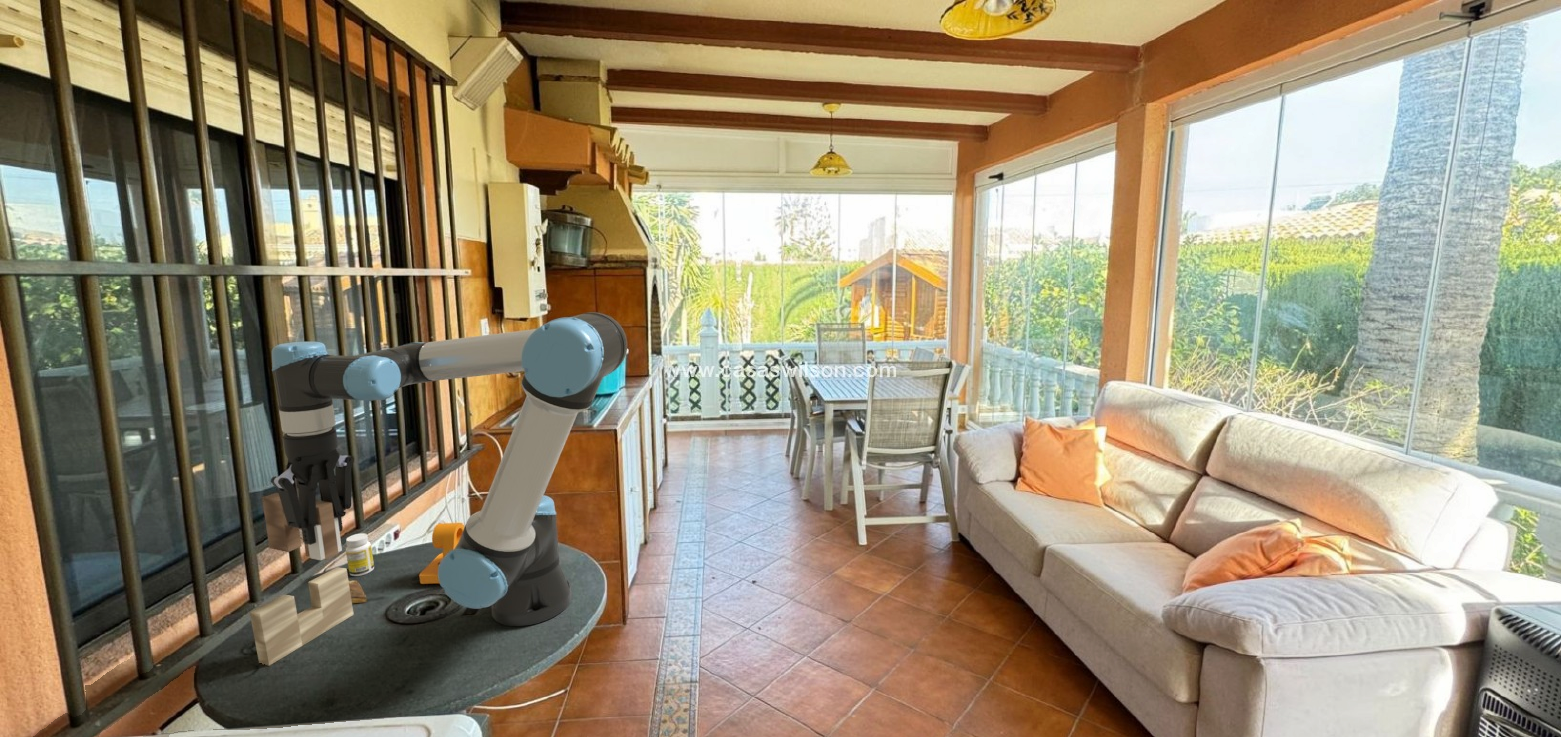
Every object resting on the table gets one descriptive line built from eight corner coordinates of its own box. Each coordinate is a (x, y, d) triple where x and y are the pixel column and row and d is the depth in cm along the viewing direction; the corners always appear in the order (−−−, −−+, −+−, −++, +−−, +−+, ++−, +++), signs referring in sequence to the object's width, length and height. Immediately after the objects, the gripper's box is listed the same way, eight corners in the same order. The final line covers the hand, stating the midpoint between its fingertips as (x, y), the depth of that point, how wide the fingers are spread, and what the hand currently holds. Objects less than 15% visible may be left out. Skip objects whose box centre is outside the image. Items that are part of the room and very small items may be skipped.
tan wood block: (338, 553, 113) (332, 502, 111) (325, 560, 110) (318, 507, 108) (283, 542, 117) (275, 492, 115) (269, 548, 114) (261, 497, 112)
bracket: (442, 563, 143) (436, 515, 141) (474, 561, 144) (468, 513, 142) (418, 587, 133) (412, 536, 131) (453, 586, 133) (447, 534, 131)
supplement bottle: (363, 565, 143) (358, 531, 141) (379, 567, 141) (374, 533, 140) (344, 575, 138) (338, 540, 136) (361, 577, 137) (355, 543, 135)
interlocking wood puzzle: (353, 614, 123) (346, 568, 121) (269, 665, 108) (259, 614, 106) (344, 613, 123) (337, 567, 122) (259, 663, 108) (249, 612, 106)
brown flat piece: (367, 604, 127) (366, 596, 127) (322, 619, 122) (321, 611, 122) (358, 584, 135) (356, 577, 135) (315, 598, 130) (313, 590, 130)
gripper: (336, 417, 116) (350, 533, 120) (245, 440, 101) (265, 571, 106) (366, 420, 114) (380, 538, 118) (278, 445, 99) (297, 578, 103)
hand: (326, 554), depth 112 cm, fingers closed on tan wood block, 2 cm apart
